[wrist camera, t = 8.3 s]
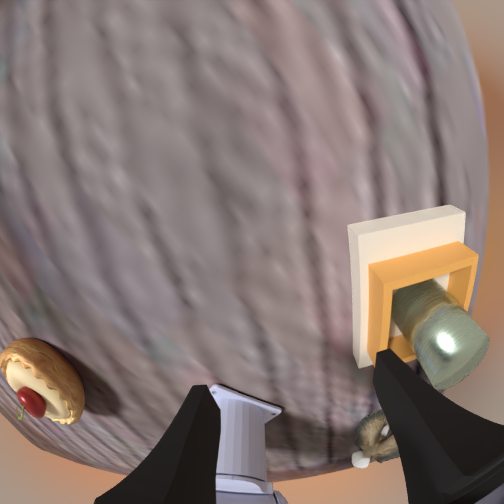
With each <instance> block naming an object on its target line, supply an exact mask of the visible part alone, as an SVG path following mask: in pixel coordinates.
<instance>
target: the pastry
mask: <svg viewBox="0 0 504 504" xmlns="http://www.w3.org/2000/svg"><path fill="white" fill-rule="evenodd" d="M0 366H1V368H2V373H3V375H6V378H7V382H8V383H9V384H10V386H11V387H12V388H13V389H14V391H15V392H16V393H17V398H18V400H19V402H20V404H21V405H22V406H23V411H22V415H21V417H19V415H18V411H17V407H16V412H17V416H18V419H19V420H21V419H22V418H23V413H24V408H25V410H26V411H27V412H28V413H29V414H31V415H32V416H33V417H35V418H42V417H43V416H44V417H48V418H50V419H52V421H57V422H60V423H61V424H69V425H71V424H74V423H76V422H78V421H79V420H80V417H81V415H82V412H83V410H84V406H85V392H84V387H83V383H82V380H81V378H80V376H79V374H78V373H77V371H76V370H75V369H74V367H73V366H72V365H71V364H70V363H69V362H68V361H67V360H66V359H65V358H64V357H63V356H62V355H61V354H60V353H59V352H58V351H56V350H55V349H54V348H52V347H51V346H50V345H48V344H46V343H45V342H43V341H41V340H39V339H36V338H21V339H18V340H16V341H13V342H12V343H11V344H10V345H8V346H7V348H6V349H5V350H4V351H3V352H2V353H1V355H0Z"/></svg>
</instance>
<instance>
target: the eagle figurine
mask: <svg viewBox="0 0 504 504" xmlns="http://www.w3.org/2000/svg"><path fill="white" fill-rule="evenodd" d="M385 421H386V417H385V415H384V412H383V410H382V409H381V410H380V409H379V410H377V411H376V412H373V413H371V414H370V416H366V418H365V419H362V421H361V422H360V424H359V425H358V427H357V430H358V431H357V433H356V434H357V435H356V439H355V440H354V441H355V445H356V446H358V447H359V448H361V450H362V451H357V452H355V453H353V454H352V464H353V466H354V467H356V468H366V467H368V465H369V463H370V460H371V458H372V456H373V457H374V459H375V460H376V461H378V462H379V463H382V462H383V461H388V460H390V459H394V458H398V457H400V454H399V450H398V447H397V444H396V441H395V438H394V436H393V434H391V435H390V436H389V437H387V438H386V435H387V433H388V430H389V424H387V425H386V426H384V428H383V425H384V423H385ZM382 428H383V429H382ZM381 430H382V431H381Z"/></svg>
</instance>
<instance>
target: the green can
mask: <svg viewBox="0 0 504 504" xmlns="http://www.w3.org/2000/svg"><path fill="white" fill-rule="evenodd" d="M391 318H392V319H393V321H394V322H395V324H396V325H397V327H398V328H399V330H400V332H401V333H402V335H403V336H404V338H405V339H406V341H407V343H408V344H409V346H410V348H411V349H412V351H413V352H414V354H415V356H416V357H417V359H418V361H419V362H420V364H421V366H422V368H423V369H424V371H425V373H426V374H427V376H428V378H429V380H430V381H431V383H432V385H433V387H434V388H435V389H437V390H443V389H447V388H449V387H452V386H454V385H455V384H457V383H459V382H460V381H462V380H463V379H464V378H466V377H467V376H468V375H469V374H470V373H471V372H472V371H473V370H474V369H475V368H476V367H477V366H478V364H479V363H480V362H481V360H482V359H483V357H484V356H485V353H486V352H487V349H488V347H489V337H488V336H487V335H486V333H485V332H484V331H483V330H482V329H481V328H480V327H479V325H478V324H477V323H476V322H475V321H474V320H473V319H472V317H471V316H470V315H469V314H468V313H467V312H466V311H465V310H464V309H463V308H462V307H461V306H460V304H459V303H458V302H457V301H456V300H455V299H454V298H453V297H452V296H451V295H450V294H449V293H448V292H447V291H446V290H445V289H444V288H443V287H442V286H441V285H440V284H439V283H438V282H437V281H436V280H435V279H434V278H432V279H429V280H425V281H422V282H419V283H416V284H412V285H409V286H406V287H402V288H399V289H398V290H397V291H396V293H395V294H394V296H393V298H392V306H391Z"/></svg>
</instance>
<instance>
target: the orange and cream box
mask: <svg viewBox="0 0 504 504" xmlns="http://www.w3.org/2000/svg"><path fill="white" fill-rule="evenodd" d="M347 227H348V237H349V249H350V263H351V279H352V305H353V355H354V357H355V360H356V363H357V365H358V368H359V369H360V368H363V367H367V366H370V365H374V368H375V361H376V352H379V351H383V350H386V349H389V348H390V349H392V350H393V351H394V352H395V353H396V354H397V355H398V356H399V357H400V358H401V359H402V360H403V361H404V362H405V363H406V362H409V361H412V360H415V359H417V357H416V356H415V354H414V352H413V351H412V349H411V348H410V346H409V344H408V343H407V341H406V339H405V338H404V336H403V335H402V333H401V332H400V330H399V328H398V327H397V325H396V324H395V322H394V321H393V319H392V318H391V306H392V298H393V296H394V294H395V293H396V291H397V290H398V289H399V288H402V287H406V286H409V285H412V284H416V283H419V282H422V281H425V280H429V279H432V278H434V279H435V280H436V281H437V282H438V283H439V284H440V285H441V286H442V287H443V288H444V289H445V290H446V291H447V292H448V293H449V294H450V295H451V296H452V297H453V298H454V299H455V300H456V301H457V302H458V303H459V304H460V306H461V307H462V308H463V309H464V310H465V311H466V312H467V311H468V307H469V303H470V299H471V295H472V290H473V285H474V280H475V275H476V269H477V263H478V257H479V255H478V254H477V253H475V252H474V251H473V250H471V249H470V248H468V247H467V246H465V245H464V244H463V242H464V230H465V212H464V211H462V210H460V209H458V208H456V207H454V206H452V205H445V206H440V207H435V208H429V209H424V210H419V211H414V212H409V213H404V214H399V215H394V216H389V217H384V218H379V219H374V220H369V221H364V222H359V223H354V224H349V225H347Z"/></svg>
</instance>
